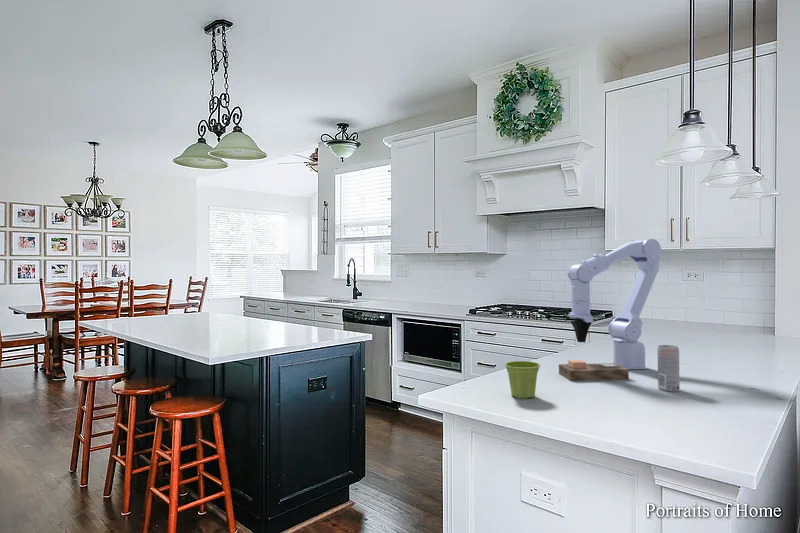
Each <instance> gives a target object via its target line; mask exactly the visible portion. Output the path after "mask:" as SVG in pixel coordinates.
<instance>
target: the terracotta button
mask: <svg viewBox="0 0 800 533" xmlns="http://www.w3.org/2000/svg"><path fill="white" fill-rule="evenodd" d="M567 362H568V363H567V364H568V367H570V368H571V369H586V364H587V362H586V361H584V360H582V359H569V360H568V361H567Z"/></svg>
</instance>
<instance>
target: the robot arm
mask: <svg viewBox="0 0 800 533" xmlns="http://www.w3.org/2000/svg"><path fill="white" fill-rule="evenodd" d="M662 253H663V248H662V246H661V244H660V242H659V241H658V240H657V239H655V238H649V239H633V240H631V241H628V242H626V243H624V244H622V245H621V246H619V247H616V248H615V249H613V250H611V251H610V252H608V253H607V254H605V255H604V254H602V253H594V254H592V257H591V258H589V259H587V260H586V259H583V260H582V261H581V263H580V264H574V265H572V266H571V267H570V268H569V271H568V272H567V277H568V279H569V281H570V285H571V311H570V312H569V313H568V317H570V318H571V319H573V320H570V324H571V325H572V328H573V330H574V332H575V337H576V341H577V343H585V342H586V340H587V336H588V331H589V329H590V327H591V325H592V323H594V317H593V315H592V314H591V281H592V280H593V279H594V277H595V276H597V275H600V274H601V273H603V272H606V271H607V270H609V269H610V265H611V264H614V263H615V262H617V261H620V260H622V259H625V258H627V257H630V258H631V259H632V261H633V262H634V263H635V264H636V266H638V268H639V270H638V273H637V276H636V277H635V280H634V282H633V285H632V287H631V289H630V292H629V295H628V296H627V299H626V302H625V303H624V306H623V308H622V311H619V313H617V314H616V315H615V316H614V319H613V320H612V321H611V322H610V323H609V325H608V328H607V330H608V334H609V335H610V336H611V338H612V339H611V340H612V359H613V362H612V363H615V364H617V365H619V366H622V367H624V368H626V369H629V370H647V367H646V346H645V345H644V343H643V342H642V341H641V340H640V337H642V336H641V335H642V327H643V325H644V322H643V321H642V319H641V317H640V315H641V314H642V312H643V308H644V306H645V304H646V301H647V300H648V297H649V294H650V292H651V290H652V287H653V285H654V282H655V279H656V278H657V274H658V272H659V269H660V257H661V255H662ZM570 318H569V319H570Z"/></svg>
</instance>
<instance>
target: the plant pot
mask: <svg viewBox="0 0 800 533" xmlns="http://www.w3.org/2000/svg"><path fill="white" fill-rule="evenodd" d="M504 366H505V368H506V371H507V375H508V380H509V388H510V393H511V397H515V398H517V399H528V398H530V399H531V398H534V397H535V396H536V389H537V388H536V387H537V379H538V377H537V376H538V372H539V369H540V368H541V363H539V362H535V361H528V360H526V361H525V360H514V361H507V362H505V363H504Z"/></svg>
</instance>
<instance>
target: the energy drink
mask: <svg viewBox="0 0 800 533" xmlns="http://www.w3.org/2000/svg"><path fill="white" fill-rule="evenodd" d="M657 388H658V389H659V390H660V391H663V392H672V393H673V392H678V391H680V388H681V387H680V349H679V347H678V345H670V344H669V345H668V344H665V345H664V344H661V345H660V344H659V345H658V347H657Z"/></svg>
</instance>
